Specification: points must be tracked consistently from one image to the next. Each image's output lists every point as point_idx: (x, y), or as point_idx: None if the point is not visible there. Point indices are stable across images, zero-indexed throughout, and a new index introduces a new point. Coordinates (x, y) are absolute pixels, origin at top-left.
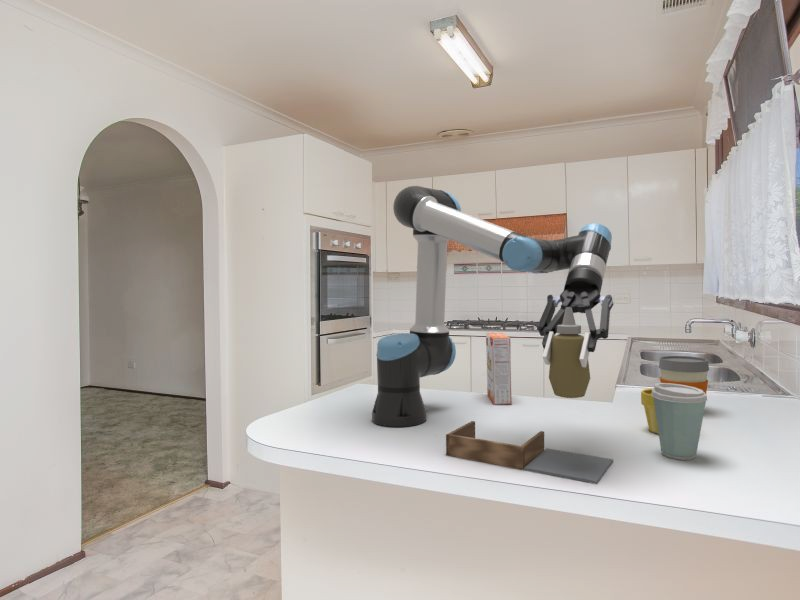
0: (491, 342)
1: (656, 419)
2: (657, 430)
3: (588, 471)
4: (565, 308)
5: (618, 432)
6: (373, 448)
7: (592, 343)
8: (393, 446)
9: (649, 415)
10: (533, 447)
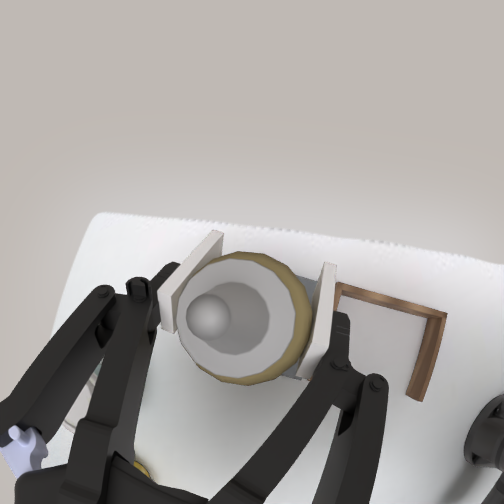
0: None
1: None
2: (139, 466)
3: None
4: (235, 316)
5: (189, 473)
6: (499, 307)
7: (165, 271)
8: (486, 323)
9: None
10: None
